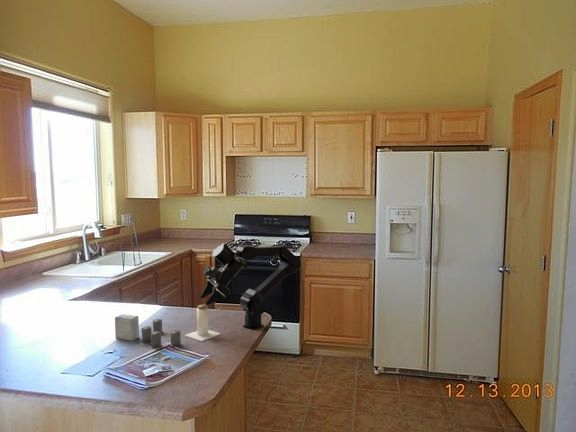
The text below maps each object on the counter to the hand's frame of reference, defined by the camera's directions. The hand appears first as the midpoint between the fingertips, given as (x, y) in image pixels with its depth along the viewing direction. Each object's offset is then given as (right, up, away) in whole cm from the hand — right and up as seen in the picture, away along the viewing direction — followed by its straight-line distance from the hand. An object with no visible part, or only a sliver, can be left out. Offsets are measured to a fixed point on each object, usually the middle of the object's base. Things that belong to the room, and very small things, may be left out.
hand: (203, 301), depth 166 cm
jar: (0, -13, 0) cm, 13 cm away
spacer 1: (-20, -14, -6) cm, 25 cm away
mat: (0, -14, 0) cm, 14 cm away
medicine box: (-29, -14, -3) cm, 33 cm away
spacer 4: (-8, -14, -10) cm, 19 cm away
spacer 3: (-15, -14, -11) cm, 24 cm away
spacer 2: (-19, -13, +3) cm, 24 cm away
